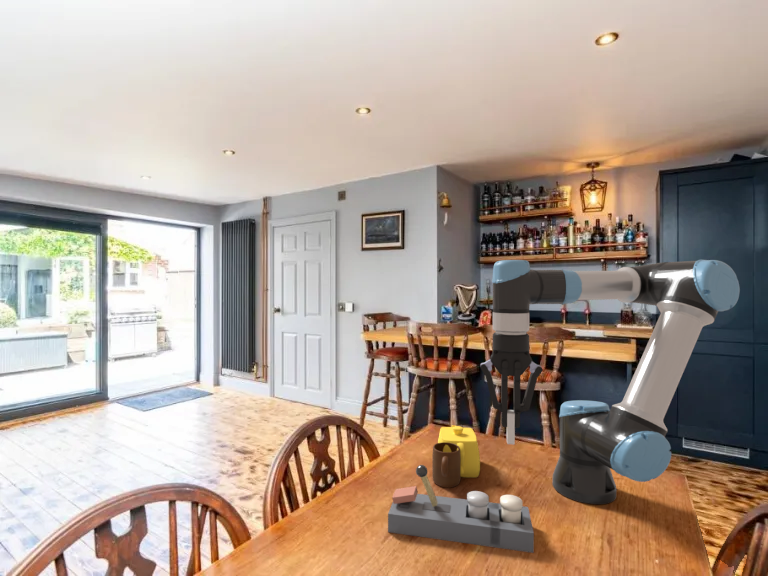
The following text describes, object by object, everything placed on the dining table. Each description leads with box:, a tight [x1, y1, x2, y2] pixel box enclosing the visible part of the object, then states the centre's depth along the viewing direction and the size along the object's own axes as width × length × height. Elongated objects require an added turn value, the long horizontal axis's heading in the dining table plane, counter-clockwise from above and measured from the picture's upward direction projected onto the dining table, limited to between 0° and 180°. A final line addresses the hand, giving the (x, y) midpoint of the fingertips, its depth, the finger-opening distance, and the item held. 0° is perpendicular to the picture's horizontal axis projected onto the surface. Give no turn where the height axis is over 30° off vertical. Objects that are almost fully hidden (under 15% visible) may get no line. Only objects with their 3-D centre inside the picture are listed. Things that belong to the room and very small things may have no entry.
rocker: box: [392, 485, 419, 504], centre depth 94 cm, size 5×4×1 cm
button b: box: [466, 490, 490, 520], centre depth 90 cm, size 5×5×5 cm
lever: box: [415, 464, 438, 507], centre depth 93 cm, size 3×3×9 cm
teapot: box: [437, 424, 481, 478], centre depth 122 cm, size 20×12×12 cm, turn 175°
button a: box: [499, 494, 524, 524], centre depth 89 cm, size 5×5×5 cm
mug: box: [431, 442, 461, 488], centre depth 111 cm, size 12×8×9 cm, turn 168°
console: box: [387, 493, 535, 554], centre depth 91 cm, size 30×10×5 cm, turn 77°
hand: (510, 441), depth 89 cm, fingers closed
